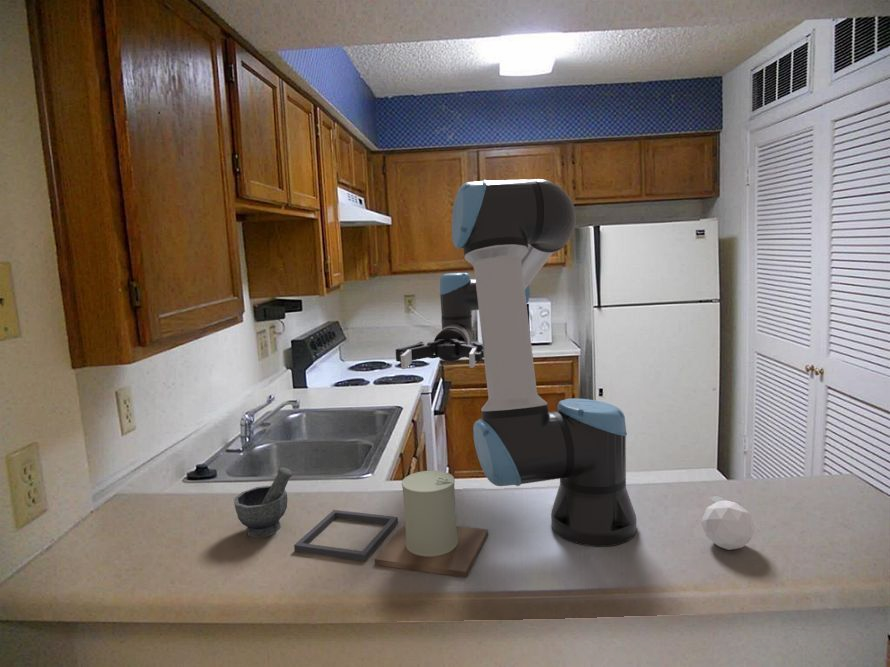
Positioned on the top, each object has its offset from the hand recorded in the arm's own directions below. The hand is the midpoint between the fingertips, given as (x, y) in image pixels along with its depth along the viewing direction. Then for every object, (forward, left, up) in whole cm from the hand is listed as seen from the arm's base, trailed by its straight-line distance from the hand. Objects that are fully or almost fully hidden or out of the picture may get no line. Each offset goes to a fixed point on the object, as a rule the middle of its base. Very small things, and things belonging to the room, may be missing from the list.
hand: (436, 361), depth 111 cm
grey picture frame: (+14, +16, -30) cm, 37 cm away
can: (-3, +16, -29) cm, 33 cm away
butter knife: (-56, -5, -31) cm, 64 cm away
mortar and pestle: (+31, +17, -30) cm, 46 cm away
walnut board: (-3, +16, -30) cm, 34 cm away
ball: (-51, +4, -30) cm, 60 cm away
